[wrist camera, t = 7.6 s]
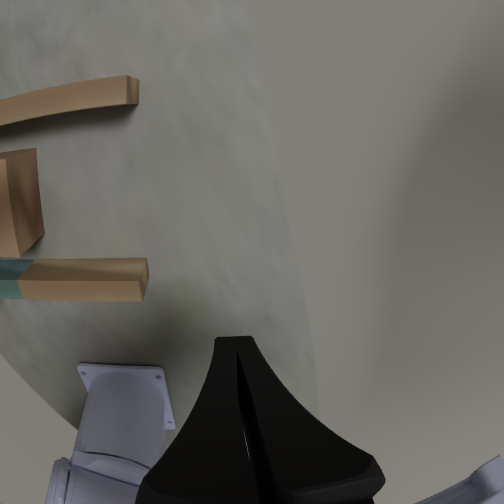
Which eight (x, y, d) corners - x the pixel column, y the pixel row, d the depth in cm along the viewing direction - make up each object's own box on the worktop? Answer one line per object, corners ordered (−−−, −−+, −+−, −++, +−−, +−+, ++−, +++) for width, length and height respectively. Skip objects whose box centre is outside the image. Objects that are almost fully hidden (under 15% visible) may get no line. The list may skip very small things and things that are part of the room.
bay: (149, 277, 21) (134, 333, 16) (-9, 276, 19) (-46, 318, 14) (142, 14, 14) (117, -20, 9) (-35, 62, 12) (-88, 63, 7)
